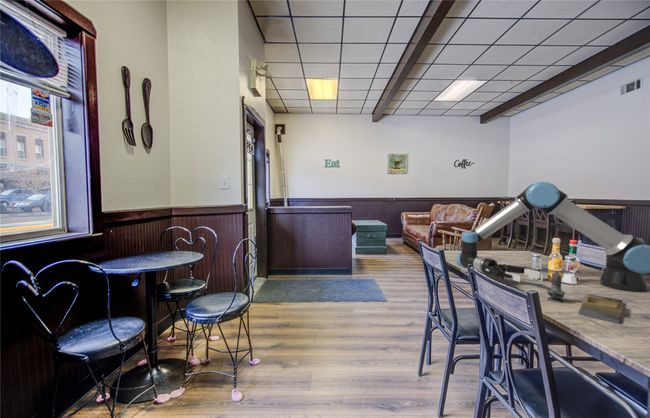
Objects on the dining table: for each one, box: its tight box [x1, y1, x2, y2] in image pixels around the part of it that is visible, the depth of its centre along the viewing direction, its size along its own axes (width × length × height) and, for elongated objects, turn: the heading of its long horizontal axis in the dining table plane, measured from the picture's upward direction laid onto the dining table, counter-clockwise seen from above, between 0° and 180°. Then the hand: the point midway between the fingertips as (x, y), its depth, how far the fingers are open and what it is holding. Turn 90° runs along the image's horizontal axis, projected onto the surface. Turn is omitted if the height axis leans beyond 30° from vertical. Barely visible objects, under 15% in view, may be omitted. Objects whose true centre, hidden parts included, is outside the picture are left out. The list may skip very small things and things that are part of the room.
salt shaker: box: [546, 271, 566, 304], centre depth 116 cm, size 6×6×12 cm
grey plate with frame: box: [578, 293, 624, 325], centre depth 107 cm, size 26×10×2 cm, turn 132°
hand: (530, 276), depth 124 cm, fingers open, 13 cm apart
